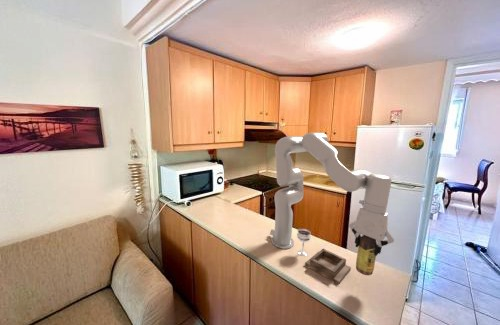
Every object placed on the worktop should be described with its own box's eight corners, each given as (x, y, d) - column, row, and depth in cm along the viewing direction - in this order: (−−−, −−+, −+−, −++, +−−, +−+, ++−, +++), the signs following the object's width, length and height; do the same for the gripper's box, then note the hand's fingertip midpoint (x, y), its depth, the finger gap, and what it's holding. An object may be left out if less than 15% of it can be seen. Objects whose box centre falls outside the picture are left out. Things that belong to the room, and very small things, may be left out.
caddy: (304, 265, 96) (305, 256, 95) (318, 254, 105) (319, 246, 104) (338, 284, 85) (339, 275, 84) (350, 270, 93) (351, 261, 93)
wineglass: (296, 248, 110) (298, 227, 108) (309, 251, 107) (311, 230, 105) (294, 255, 103) (296, 233, 101) (308, 258, 101) (310, 236, 99)
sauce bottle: (368, 279, 77) (375, 231, 73) (352, 269, 82) (358, 224, 78) (376, 272, 81) (383, 226, 77) (360, 263, 86) (366, 219, 82)
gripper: (346, 202, 79) (340, 243, 83) (400, 218, 67) (390, 265, 71) (353, 198, 84) (347, 236, 88) (404, 212, 72) (395, 256, 76)
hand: (366, 249), depth 79 cm, fingers closed on sauce bottle, 6 cm apart
